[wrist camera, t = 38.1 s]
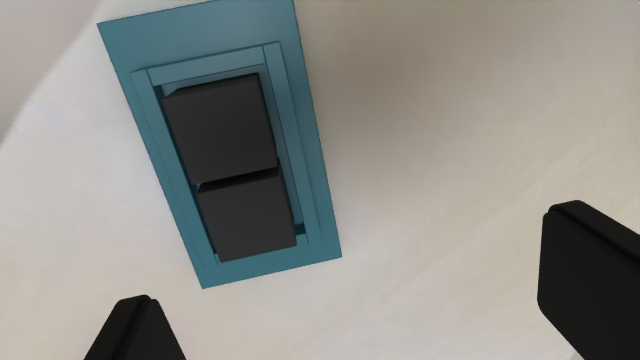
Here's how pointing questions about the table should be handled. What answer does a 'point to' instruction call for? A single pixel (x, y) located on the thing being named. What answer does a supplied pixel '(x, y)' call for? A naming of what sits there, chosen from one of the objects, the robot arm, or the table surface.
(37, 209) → the table surface
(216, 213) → the black square block
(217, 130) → the black block
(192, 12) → the dock
